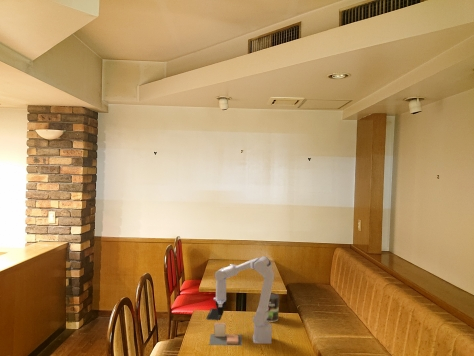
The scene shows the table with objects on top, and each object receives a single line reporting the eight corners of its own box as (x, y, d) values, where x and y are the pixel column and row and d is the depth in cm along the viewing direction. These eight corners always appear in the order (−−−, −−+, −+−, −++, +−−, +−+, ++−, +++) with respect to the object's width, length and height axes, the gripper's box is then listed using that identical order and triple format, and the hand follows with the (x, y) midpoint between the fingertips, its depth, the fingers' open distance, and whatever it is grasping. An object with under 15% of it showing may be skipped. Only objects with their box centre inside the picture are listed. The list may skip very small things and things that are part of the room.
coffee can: (277, 323, 198) (277, 299, 197) (260, 320, 201) (260, 297, 200) (279, 316, 208) (280, 293, 207) (263, 313, 211) (264, 291, 210)
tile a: (238, 334, 180) (238, 341, 173) (238, 337, 180) (238, 344, 173) (227, 334, 180) (226, 341, 173) (227, 337, 180) (226, 343, 173)
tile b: (225, 335, 181) (225, 323, 181) (225, 336, 180) (225, 324, 179) (214, 335, 181) (214, 322, 181) (214, 336, 179) (214, 324, 179)
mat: (241, 335, 182) (241, 334, 182) (242, 346, 171) (242, 345, 171) (210, 334, 182) (210, 334, 182) (209, 345, 171) (209, 344, 171)
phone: (206, 318, 200) (211, 308, 215) (206, 320, 200) (211, 309, 215) (218, 319, 199) (223, 309, 214) (218, 321, 199) (223, 310, 214)
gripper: (214, 285, 193) (214, 308, 194) (213, 295, 179) (212, 320, 179) (226, 286, 193) (226, 309, 194) (226, 295, 179) (225, 320, 179)
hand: (220, 314), depth 187 cm, fingers closed
